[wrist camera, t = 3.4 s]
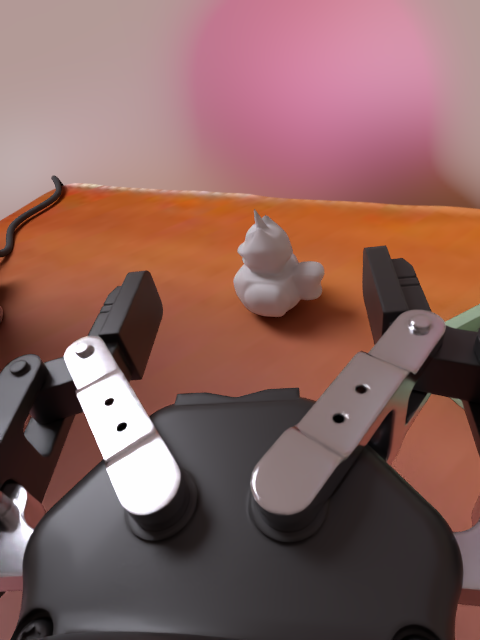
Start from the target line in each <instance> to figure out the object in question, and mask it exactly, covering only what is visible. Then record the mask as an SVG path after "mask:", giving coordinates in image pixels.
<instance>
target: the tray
mask: <svg viewBox="0 0 480 640" xmlns="http://www.w3.org/2000/svg"><path fill="white" fill-rule="evenodd" d="M445 325H447V326H449V327H452V328H456V329H461V330H468V331H475V332H478V330H479V328H480V304H479V305H477V306H475V307H473V308H471V309H469V310H467V311H465V312H463V313H462V314H460V315H458V316H456V317H454V318H452V319H450V320H448V321H446V322H445ZM451 399H452V400H453V401H455V402H456V403H457V404H458V405H459V406H461V407H462V408H463V409H464V406H463V403H462V400H460V399H455V398H451ZM464 410H465V409H464Z"/></svg>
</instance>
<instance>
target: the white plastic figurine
mask: <svg viewBox="0 0 480 640" xmlns="http://www.w3.org/2000/svg"><path fill="white" fill-rule="evenodd" d="M254 217H255V223H256V224H254V225H253V226H252V227H251V228H250V229H249V230H248V232H247V234H246V238H245V242H244V243H242V244H241V245H240V246H239V248H238V253H239V254H240V255H241V256H242V257H243V258H242V260H243V263H244V265H243V266H242V267H241V268H240V270H239V271H238V272H237V274H236V276H235V278H234V287H235V290H236V293H237V296H238V297H239V299H240V300H241V302H242V303H243V304H244V305H245V307H246V308H247V309H248V310H249V311H251V312H253V313H255V314H259V315H262V316H271V317H280V316H283V315H284V314H285V313H286V312H287V311H288V310H290V309H292V308H293V307H294V306H295V305H296V304H297V303H298V302H299V301H300V300H301V299H303V300H313V299H316V298H318V297H319V296H320V295H321V293H322V287H321V284H320V282H321V280H322V278H323V276H324V268H323V266H322V265H321V264H320V263H318V262H312V261H308V262H301V263H298V260H297V258H296V256H295V255H294V254H293V250H292V247H291V244H290V241H289V238H288V236H287V234H286V232H285V231H284V230H283V229H282V228H281V227H280V226H279V225H277V224H276V223H275V222H274V221H273V220H271V219H270V218H269V217H268V216H266V215H265V216H264V217H263V218H261V217H260V216H259V214H258V213H257V212H256V211H255V209H254Z"/></svg>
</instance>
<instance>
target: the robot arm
mask: <svg viewBox="0 0 480 640" xmlns="http://www.w3.org/2000/svg"><path fill="white" fill-rule="evenodd" d="M52 180H53V182H54V184H55V187H56V191H55V193H54V194H53V195H52V196H51V197H50V198H48V199H47V200H45V201H44V202H42V203H40V204H39V205H37V206H35V207H33V208H32V209H30V210H28V211H27V212H25V213H23V214H22V215H20V216H19V217H18V218H16V219H15V220H14V221H13V222H12V223H11V224H10V225H9V227H8V229H7V234H6V246H5V248H4V249H2V250H0V257H4V256H6V255H7V254H9V253H10V252H11V250H12V248H13V234H14V231H15V229H16V228H17V226H18V225H19V224H20V223H22V222H23V221H24V220H26V219H27V218H29V217H30V216H32V215H33V214H35V213H37V212H39V211H40V210H42V209H44V208H45V207H47V206H49V205H50V204H52V203H53V202H54V201H56V200H57V199H58V198H59V196H60V195H61V191H62V188H61V186H64V185H63V184H62V182H61V181H60V180H59V179H58V178H57V177H56V176H52ZM363 297H364V302H365V306H366V310H367V315H368V319H369V323H370V327H371V331H372V336H373V340H374V344H375V346H374V347H373V348H372V349H371V350H370V352H369V353H366V352H363V351H360V352H358V353H357V354H356V355H355V356H354V357H353V358H352V360H351V361H350V362H349V363H348V364H347V366H346V367H345V368H344V369H343V370H342V372H341V373H340V374H339V375H338V376H337V378H336V379H335V380H334V381H333V382H332V384H331V385H330V386H329V387H328V388H327V389H326V391H325V392H324V393H323V394H322V395H321V397H320V398H319V399H318V400H317V401H314V400H310V399H307V398H302V397H300V393H299V388H283V389H267V390H263V391H259V392H256V393H252V394H248V395H244V396H240V397H229V396H223V395H217V394H212V393H187V394H177V397H176V401H175V404H172V405H169V406H167V407H164V408H162V409H160V410H158V411H157V412H155V413H153V414H152V415H151V416H149V417H148V415H147V413H146V411H145V410H144V408H143V406H142V405H141V403H140V401H139V400H138V398H137V396H136V395H135V393H134V391H133V389H132V388H131V386H130V384H129V382H130V380H141V379H142V377H143V374H144V371H145V368H146V365H147V362H148V359H149V356H150V353H151V350H152V347H153V344H154V341H155V338H156V334H157V331H158V328H159V325H160V322H161V319H162V315H163V307H162V302H161V299H160V297H159V294H158V292H157V289H156V286H155V284H154V281H153V278H152V276H151V274H150V272H149V271H139V272H130V273H128V274H127V276H126V278H125V280H124V282H123V284H122V286H117V287H116V288H115V289H114V290H113V291H112V292H111V293H110V294H109V295H108V297H107V299H106V301H105V303H104V306H103V307H102V309H101V311H100V314H99V315H98V316H97V318H96V320H95V322H94V324H93V326H92V328H91V330H90V332H89V334H88V336H87V337H83V338H81V339H79V340H77V341H75V342H74V343H72V344H71V345H70V346H69V347H68V348H67V350H66V351H65V354H64V357H61V358H58V359H55V360H51V361H48V362H45V363H43V361H42V360H41V359H40V357H39V356H37V355H35V354H28V355H23V356H21V357H18V358H16V359H14V360H13V361H11V362H10V363H9V364H8V365H6V366H5V368H4V369H3V370H2V372H1V373H0V597H1V596H2V595H3V594H4V593H5V592H6V591H23V596H22V604H21V610H20V615H19V620H18V623H17V626H16V629H15V631H14V634H13V636H12V638H11V639H10V640H455V617H456V610H457V605H458V604H462V605H472V606H480V494H479V496H478V499H477V501H476V503H475V506H474V508H473V511H472V517H471V518H472V528H470V529H468V530H466V531H462V532H452V530H451V528H450V527H449V525H448V523H447V522H446V521H445V519H444V518H443V517H442V516H441V514H440V513H439V512H438V511H437V510H436V509H435V508H434V507H433V506H432V505H431V504H430V503H428V502H427V501H426V500H425V499H424V498H423V497H422V496H421V495H420V494H419V493H418V492H417V491H416V490H415V489H414V488H413V487H412V486H411V485H410V484H409V483H408V482H407V481H406V480H404V479H403V478H402V477H401V476H400V475H399V474H398V473H397V472H396V471H395V470H394V469H393V468H392V467H391V464H392V463H393V461H394V459H395V458H396V456H397V454H398V452H399V450H400V448H401V445H402V442H403V440H404V437H405V435H406V433H407V431H408V430H409V428H410V427H411V425H412V423H413V422H414V420H415V419H416V417H417V416H418V414H419V413H420V411H421V409H422V408H423V406H424V405H425V403H426V402H427V400H428V398H429V397H430V395H431V394H436V395H441V396H446V397H450V398H455V399H460V400H462V403H463V406H464V409H465V413H466V416H467V419H468V422H469V425H470V428H471V431H472V434H473V437H474V441H475V444H476V447H477V450H478V453H479V456H480V328H479V330H478V332H475V331H468V330H461V329H456V328H452V327H449V326H447V325H445V322H444V321H443V319H442V318H441V317H440V316H438V315H437V314H435V313H433V312H431V309H430V307H429V304H428V302H427V300H426V297H425V295H424V292H423V290H422V288H421V285H420V283H419V281H418V278H417V277H416V273H415V271H414V269H413V266H412V265H411V264H409V263H408V262H407V261H406V260H404V259H403V258H399V259H391V258H390V255H389V252H388V249H387V247H386V246H377V247H368V248H364V250H363ZM2 317H3V310H2V307H1V306H0V323H1V320H2ZM82 412H84V413H85V415H86V418H87V420H88V422H89V425H90V427H91V430H92V432H93V434H94V437H95V439H96V441H97V444H98V446H99V448H100V451H101V453H102V455H103V458H104V459H103V460H102V461H101V462H100V463H99V464H98V465H96V466H95V467H94V468H93V469H92V470H91V471H90V472H89V473H88V474H87V475H86V476H85V477H84V478H83V479H82V480H80V481H79V482H78V483H77V484H76V485H75V486H74V487H73V488H72V489H71V490H70V491H69V492H68V493H67V494H66V495H64V496H63V497H62V498H61V499H60V500H59V501H58V502H57V503H56V504H55V505H54V506H53V507H52V508H51V509H50V510H49V511H48V512H47V513H46V514H45V510H44V507H43V505H42V504H41V503H42V501H43V498H44V495H45V493H46V490H47V488H48V485H49V482H50V480H51V477H52V474H53V472H54V469H55V467H56V464H57V461H58V459H59V456H60V453H61V451H62V448H63V446H64V443H65V440H66V438H67V435H68V432H69V430H70V427H71V425H72V422H73V419H74V417H75V415H76V414H79V413H82ZM28 414H30V415H31V416H32V417H31V419H30V421H29V424H28V426H27V428H26V430H25V432H23V427H24V423H25V421H26V419H27V417H28Z"/></svg>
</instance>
